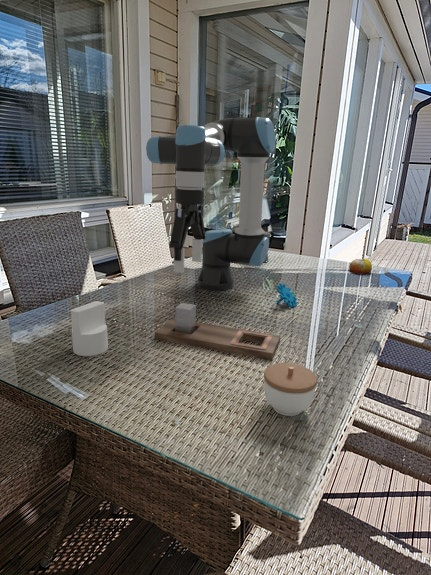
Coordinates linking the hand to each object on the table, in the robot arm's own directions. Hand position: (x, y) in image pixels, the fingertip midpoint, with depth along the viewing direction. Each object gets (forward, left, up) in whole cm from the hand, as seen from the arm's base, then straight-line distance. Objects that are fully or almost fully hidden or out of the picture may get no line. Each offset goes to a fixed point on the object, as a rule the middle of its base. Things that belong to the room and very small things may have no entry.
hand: (188, 266), depth 112 cm
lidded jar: (+26, +34, -21) cm, 47 cm away
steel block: (0, 0, -21) cm, 21 cm away
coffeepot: (-105, 0, -21) cm, 107 cm away
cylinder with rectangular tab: (+18, -20, -21) cm, 35 cm away
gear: (-40, +23, -21) cm, 51 cm away
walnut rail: (0, +10, -21) cm, 23 cm away
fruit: (-105, +50, -21) cm, 118 cm away
